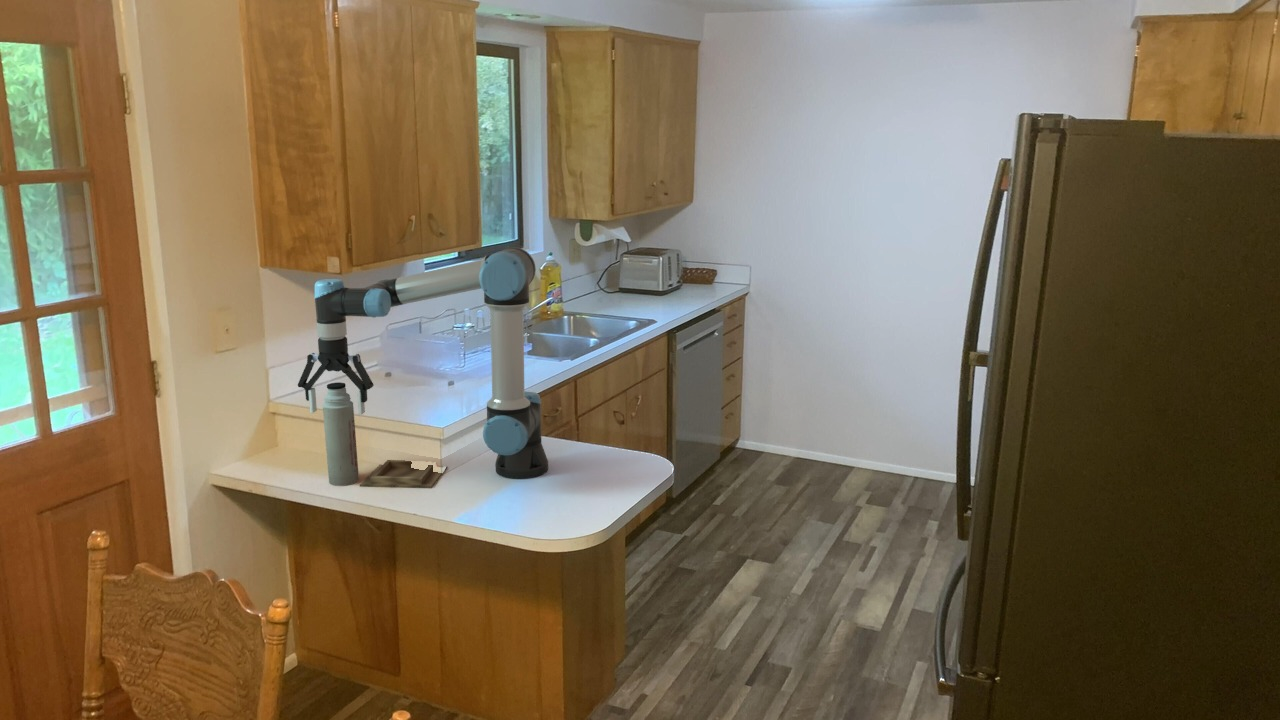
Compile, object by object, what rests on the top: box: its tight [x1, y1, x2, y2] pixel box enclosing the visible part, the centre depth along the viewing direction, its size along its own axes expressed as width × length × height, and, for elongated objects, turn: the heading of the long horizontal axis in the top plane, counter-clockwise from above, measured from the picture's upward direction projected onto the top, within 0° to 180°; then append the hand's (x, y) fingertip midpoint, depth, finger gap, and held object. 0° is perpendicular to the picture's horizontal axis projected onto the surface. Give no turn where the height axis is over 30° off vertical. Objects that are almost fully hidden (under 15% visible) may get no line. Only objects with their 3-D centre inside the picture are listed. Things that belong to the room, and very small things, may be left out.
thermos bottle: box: [322, 381, 360, 487], centre depth 254 cm, size 8×8×28 cm
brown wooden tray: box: [359, 459, 443, 489], centre depth 260 cm, size 20×16×2 cm
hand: (337, 412), depth 253 cm, fingers open, 13 cm apart
